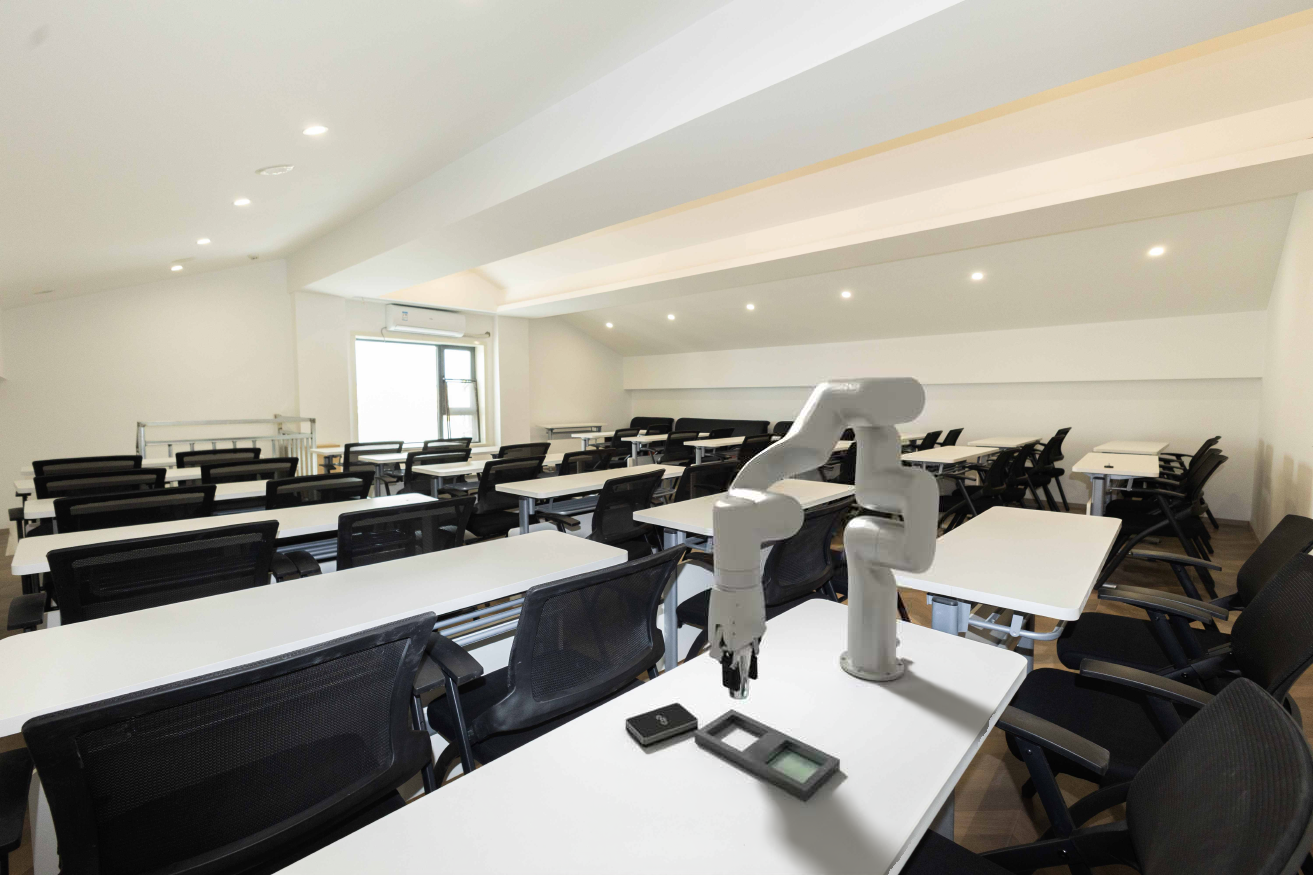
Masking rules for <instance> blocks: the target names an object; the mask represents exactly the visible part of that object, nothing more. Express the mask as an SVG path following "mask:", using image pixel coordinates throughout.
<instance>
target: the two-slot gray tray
mask: <svg viewBox="0 0 1313 875" xmlns="http://www.w3.org/2000/svg"><path fill="white" fill-rule="evenodd" d="M732 724H734V725H735V726H738V727H740V728H742V729H744V730H746V731H748V732H750V733H753V734H754V735H756V736H759V737H760V738H758V739H757V740H755V741H753V742H752V743H751V744H750V745H748V746H747V747H746V748H744V749H743V750H739V749H738V748H735V747H734V746H732V745H730V744H729V743H726V742H725V741H722V740H721V739H718V738H716V735H717V734H719V733H720V732H721V731H723V730H725V729H727V727H729V726H730V725H732ZM694 742H695V743H696V744H698V745H700V746H702V747H703V748H705V749H707V750H709V751H710V752H713V753H715V754H717V755H719V756H720V757H721V758H724V759H726V760H727V761H729V762H731V763H733V764H735V765H736V766H738V767H741V768H743V769H744V770H745V771H748V772H749V773H752V774H753V775H755V776H757V777H758V778H760V779H762V780H764V781H766V782H768V783H770V784H771V785H773V786H775V787H777V788H779V789H780V790H782V791H784V792H786V793H788V794H789V795H791V796H794V797H795V798H797V799H799V800H801V801H803V802H805V803H806V802H808V801H809V800H810V799H811V798H812V797H813V795H815V794H816V793H817V792H818V791H819V790H820V789H821V788H822V787H823V786H824V785H826V783H828V781H829V780H830V779H831V778H832V777H833V776H835V774H837V773H838V772H839V771H840V770H841V768H840V767H841V765H840V764H841V760H840V759H839V758H837V757H835V756H833V755H832V754H829V753H827V752H824V751H823V750H820V749H818V748H816V747H814V746H812V745H810V744H808V743H805V742H803V741H801V740H798V739H797V738H795V737H792V736H790V735H788V734H786V733H784V732H781V731H780V730H777V729H776V728H773V727H772V726H769V725H767V724H764V723H763V722H760V721H758V720H756V719H755V718H751V717H750V716H747V715H745V714H743V713H741V712H740V711H737V710H734V709H733V708H731V709H728V711H727V712H724V713H723V714H722V715H720V716H718V717H717V718H715V719H713V720H712V721H710V722H709V723H707V724H705V726H703V727H701V728H700V729H698V730H695V732H694Z"/></svg>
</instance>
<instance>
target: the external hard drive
mask: <svg viewBox="0 0 1313 875" xmlns="http://www.w3.org/2000/svg"><path fill="white" fill-rule="evenodd" d="M698 722H699V719H698V718H697V716H696V715H694V714H692V713H691V712H690V711H689V710H688V709H687V708H685V706H684V705H682V704H681V703H679V702H674V703H671V704H668V705H664V706H661V707H658V708H655V709H652V710H649V711H646V712H643V713H640V714H637V715H634V716H631V717H628V718H626V719H625V730H626V731H627V733H629V734H630V735H631V736H632V737H633V738H634V739H635V741H636V742H638V744H639V745H640V746H641V747H642V748H645V749H646V748H649V747H652V746H655V745H657V744H660V743H664V742H665V741H669V740H671V739H673V738H676V737H679V736H682V735H685V734H689V733H690V732H693V731H697V729H698V728H699V723H698Z"/></svg>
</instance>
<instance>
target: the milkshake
mask: <svg viewBox="0 0 1313 875" xmlns="http://www.w3.org/2000/svg"><path fill="white" fill-rule="evenodd" d="M756 639H757V638H756ZM755 641H756V640H755ZM754 644H755V642H754ZM754 644H753V646H754ZM753 646H752V647H751V645H750V644H747V645H745V646H743V647H742V648H740V649H738V660H737V667H739V668H740V690H739V691H738V692H736V691H733V690H731V689H729V688H727V690H728V695H729V697H730V698H732V699H734V700H744V699H747V698H748V696H749V692H750V666H751V655H752V648H753ZM727 655H728V656H729V657H730V658H731V652H729V651H727Z"/></svg>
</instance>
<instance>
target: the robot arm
mask: <svg viewBox="0 0 1313 875" xmlns="http://www.w3.org/2000/svg"><path fill="white" fill-rule="evenodd" d="M925 405H926V392H925V389H924V387H923V385H922V384H921V382H919V381H918V380H917V379H916V378H914V377H910V376H894V377H892V376H891V377H889V376H888V377H886V376H885V377H879V376H878V377H876V376H875V377H873V376H872V377H855V378H845V379H844V378H839V379H837V378H836V379H829V380H825V381H823V382H821V383H819V384H818V385H816V387H815V388H814V390H813V391H812V393H811V394H810V396H809V398H808V399H807V401H806V402H805V403H804V406H803V407H802V409H801V410H800V412H799V414H798V415H797V417H796V418H795V420H794V422H793V423H792V425H791V427H790V428H789V430H788V431H787V433H786V434H785V436H784V437H782V438H781V439H780V440H778V441H776V442H775V443H773V444H771V445H769V446H768V447H767V448H765V449H764V450H762V451H761V452H759V453H758V454H756V455H755V456H754V457H753V458H751V459H750V460H749V461H748V462H747V463H745V465H744V466H743V467H742V468H741V470H739V472H738V473H737V475H736V477H735V478H734V480H733V482H732V483H731V485H730V486H729V488H728V490H727V493H726V494H725V496H724V498H723V499H720V500H718V501H716V502H715V503H714V505H713V506H712V535H713V536H712V537H713V538H712V539H713V540H712V542H713V569H714V570H713V572H714V573H713V574H714V577H713V578H714V585H712V587H711V591H710V597H709V605H708V621H707V622H708V623H707V624H708V626H707V628H708V629H707V631H708V632H707V633H708V634H707V635H708V643H709V645H710V650H709V654H708V656H709V657H710V658H712V659H715V660H716V661H717V662H718V663H719V665H721V675H722V676H721V679H722V686H723V687H724V688H726V689H728V688H729V689H731V690H733V691H736V692H738V691H739V690H740V668H739V667H737V660H738V649H740V648H742V647H743V646H745V645H747V644H750V645H751V647H752V646H753V644H754V642H755V644H754V646H753V648H752V655H751V666H750V679H751V680H753V681H756V680H757V679H758V677H759V676H758V674H759V673H758V672H759V671H758V668H759V667H758V665H759V664H758V656H759V654H760V644H761V642H762V640H763V637H764V634H765V633H766V631H767V629H768V628H767V625H766V605H765V596H764V589H763V583H762V561H761V559H762V557H761V551H762V550H761V543H762V542H764V541H780V540H784V539H788V538H790V537H792V536H794V535H796V534H797V533H798V531H799V530H800V529H801V528H802V526H803V523H804V520H805V512H804V508H803V506H802V504H801V503H800V502H799V501H798V500H797V499H796V498H795V497H793V496H792V495H790V494H789V495H788V494H784V493H781V492H775V491H770V490H768V489H769V488H771V487H772V486H773V485H774V484H776V483H778V482H779V481H782V480H784V479H786V478H788V477H790V476H795V475H798V474H802V473H805V472H808V471H811V470H815V469H817V468H820V467H822V466H823V465H825V464H826V463H827V462H828V461H829V460H830V458H831V455H832V453H833V452H834V450H835V449H836V447H837V445H838V443H839V441H840V440H841V438H842V436H843V434H844V432H845V431H846V429H847V428H848V427H851V428H852V431H853V433H854V434H855V439H856V460H855V461H856V463H855V474H854V475H855V479H854V495H855V496H854V497H855V500H856V502H857V503H858V505H859V506H861V507H863V508H865V509H868V510H872V511H876V512H877V511H878V512H881V513H889V514H895V515H901V516H902V518H903V521H900V520H894V519H891V518H887V517H886V518H884V517H879V516H871V515H861V516H856V517H854V518H852V519H850V520H849V521H848V523H847V524H846V526H845V529H844V531H843V547H844V551H845V552H844V553H845V556H846V561H847V562H846V564H847V574H848V575H847V578H848V579H847V583H848V587H847V588H848V590H847V641H846V642H847V643H846V644H847V650H845V651H844V652H842V653H841V654H840V655H839V665H840V667H841V668H842V669H843V670H844V671H845V672H846V673H847V674H850V675H853V676H855V677H858V678H860V679H864V680H868V681H869V680H870V681H876V682H877V681H878V682H879V681H880V682H885V681H886V682H887V681H893V680H897V679H898V678H900V677H902V676H903V674H904V673H905V666H904V663H903V662H902V660H901V659H899V658H898V657H897V648H898V647H900V645H901V640H900V639H899V638H898V637H897V626H898V625H897V618H898V617H897V616H898V584H897V580H896V578H895V575H894V573H893V571H892V570H896V571H900V572H905V573H909V574H913V575H914V574H916V575H921V574H925V573H927V571H928V570H930V568H931V567H932V565H933V562H934V561H935V556H936V548H937V536H938V535H937V534H938V522H939V509H940V508H939V507H940V505H939V504H940V490H939V485H938V482H937V480H936V477H935V476H934V475H933V473H932V472H930V471H929V470H927V469H924V468H920V467H912V466H905V465H904V466H903V465H902V438H901V436H900V433H899V431H898V429H897V427H896V425H901V424H902V425H903V424H907V423H908V424H909V423H911V422H913V421H914V420H916V419H917V418H919V417H920V416H921V414H922V412H923V411H924V408H925ZM756 638H757V639H756ZM755 640H756V641H755ZM727 651H729V652H731V658H730V657H729V656H728V655H727Z"/></svg>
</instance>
